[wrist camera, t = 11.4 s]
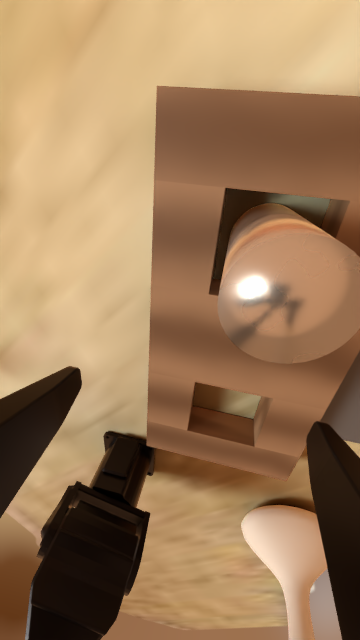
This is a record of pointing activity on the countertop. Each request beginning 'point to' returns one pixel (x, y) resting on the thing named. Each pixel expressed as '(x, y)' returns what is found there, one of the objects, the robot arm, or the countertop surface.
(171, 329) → the hole block
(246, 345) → the steel peg
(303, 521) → the flower in vase
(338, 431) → the rubber mat
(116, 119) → the countertop surface
